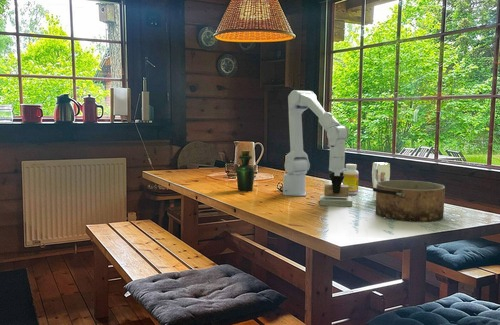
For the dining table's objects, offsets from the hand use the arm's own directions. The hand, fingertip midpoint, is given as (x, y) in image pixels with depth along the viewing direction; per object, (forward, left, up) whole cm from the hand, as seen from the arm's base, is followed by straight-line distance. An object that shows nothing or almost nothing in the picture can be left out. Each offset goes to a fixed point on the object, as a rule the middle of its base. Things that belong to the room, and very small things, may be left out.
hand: (336, 192), depth 184 cm
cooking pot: (+24, -16, -5) cm, 30 cm away
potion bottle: (-39, +22, -5) cm, 45 cm away
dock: (0, 0, -4) cm, 4 cm away
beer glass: (+18, +11, -5) cm, 22 cm away
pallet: (0, 0, -2) cm, 2 cm away
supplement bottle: (+7, +24, -5) cm, 25 cm away
